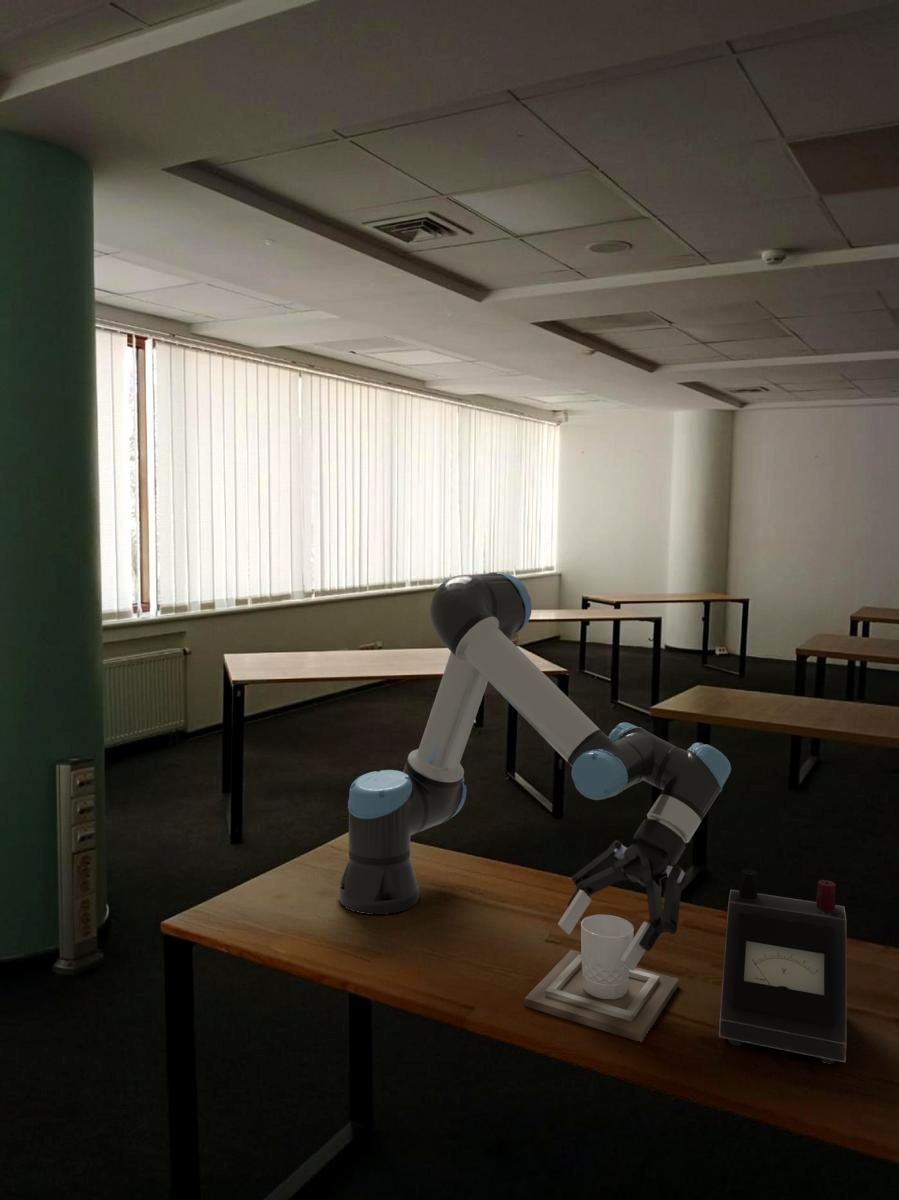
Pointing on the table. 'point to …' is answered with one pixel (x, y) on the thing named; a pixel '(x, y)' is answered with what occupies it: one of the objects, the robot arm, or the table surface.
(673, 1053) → the table surface
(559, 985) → the framed square tray
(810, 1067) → the table surface
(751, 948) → the voltmeter
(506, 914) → the table surface
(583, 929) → the white cup
